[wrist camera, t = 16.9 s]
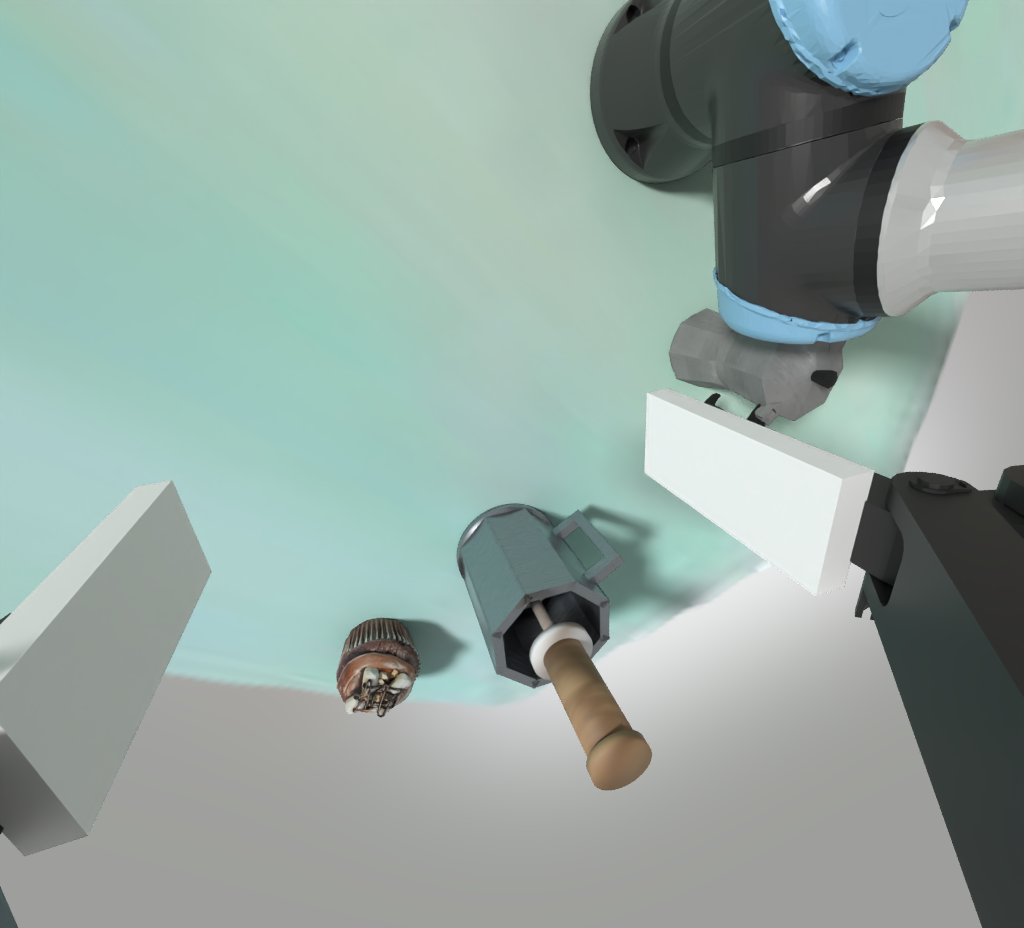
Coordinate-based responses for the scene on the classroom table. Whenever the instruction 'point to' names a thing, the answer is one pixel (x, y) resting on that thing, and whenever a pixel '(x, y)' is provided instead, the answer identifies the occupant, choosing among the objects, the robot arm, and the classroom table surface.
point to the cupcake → (377, 666)
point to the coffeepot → (755, 367)
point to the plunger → (588, 702)
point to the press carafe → (531, 582)
